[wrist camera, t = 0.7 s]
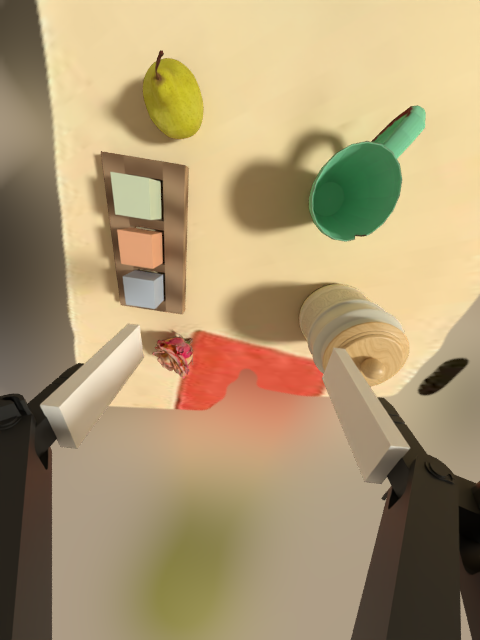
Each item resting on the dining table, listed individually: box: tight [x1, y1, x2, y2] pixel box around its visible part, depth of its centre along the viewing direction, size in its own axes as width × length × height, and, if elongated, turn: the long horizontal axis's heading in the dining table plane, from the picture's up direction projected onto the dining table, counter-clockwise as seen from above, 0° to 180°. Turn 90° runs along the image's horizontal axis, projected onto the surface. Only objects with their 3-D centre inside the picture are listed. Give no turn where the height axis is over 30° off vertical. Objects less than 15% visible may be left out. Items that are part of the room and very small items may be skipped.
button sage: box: [110, 172, 161, 220], centre depth 30 cm, size 5×5×4 cm
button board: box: [101, 151, 189, 314], centre depth 36 cm, size 24×12×2 cm, turn 172°
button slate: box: [123, 270, 164, 309], centre depth 37 cm, size 5×5×4 cm
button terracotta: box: [117, 228, 163, 269], centre depth 34 cm, size 5×5×4 cm
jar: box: [299, 284, 409, 387], centre depth 34 cm, size 13×13×18 cm
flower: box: [153, 331, 193, 378], centre depth 44 cm, size 10×9×8 cm
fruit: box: [143, 50, 204, 139], centre depth 24 cm, size 7×7×12 cm
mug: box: [309, 106, 425, 241], centre depth 28 cm, size 15×10×10 cm
